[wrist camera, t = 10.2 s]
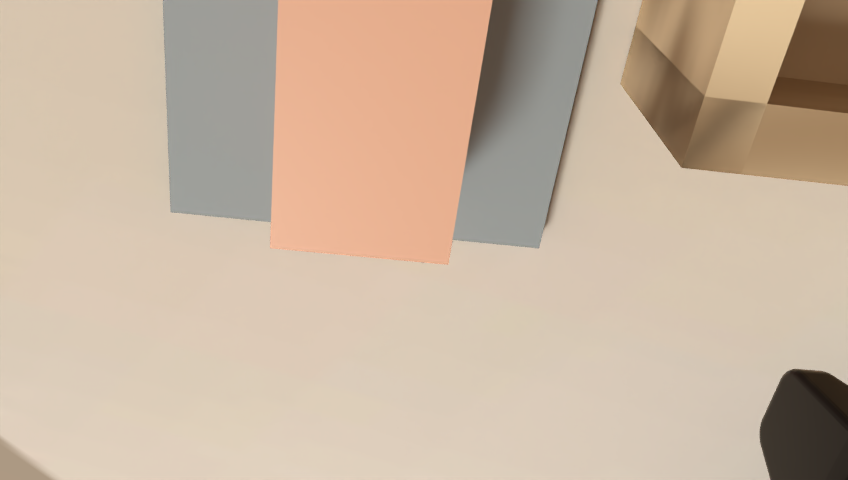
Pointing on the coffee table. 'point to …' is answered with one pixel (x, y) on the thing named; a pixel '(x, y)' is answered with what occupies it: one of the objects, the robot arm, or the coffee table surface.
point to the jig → (746, 85)
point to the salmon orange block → (373, 124)
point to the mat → (255, 106)
